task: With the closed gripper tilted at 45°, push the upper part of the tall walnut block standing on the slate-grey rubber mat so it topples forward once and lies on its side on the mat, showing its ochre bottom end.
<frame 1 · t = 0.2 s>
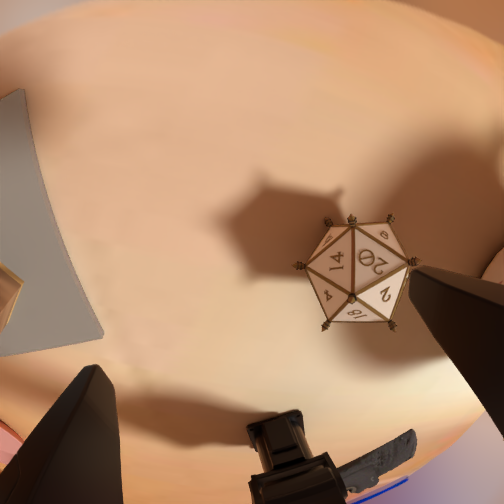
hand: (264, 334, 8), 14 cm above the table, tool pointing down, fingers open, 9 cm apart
dark slate chunk: (365, 464, 46), on the table
chamber pot: (495, 290, 34), on the table
game die: (334, 249, 24), on the table
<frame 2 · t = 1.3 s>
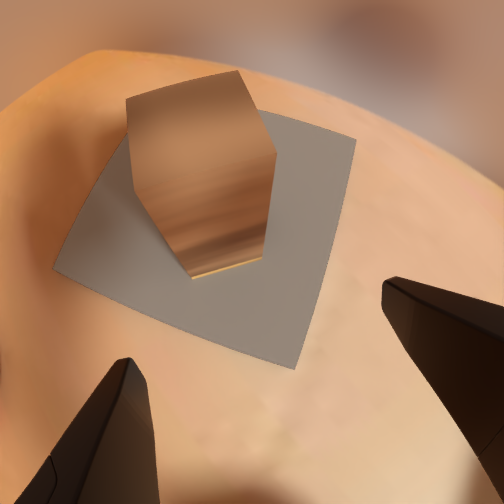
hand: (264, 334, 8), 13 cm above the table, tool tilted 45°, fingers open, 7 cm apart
walnut block: (217, 237, 22), point 1 cm above the table, touching rubber mat
rubber mat: (209, 199, 24), on the table
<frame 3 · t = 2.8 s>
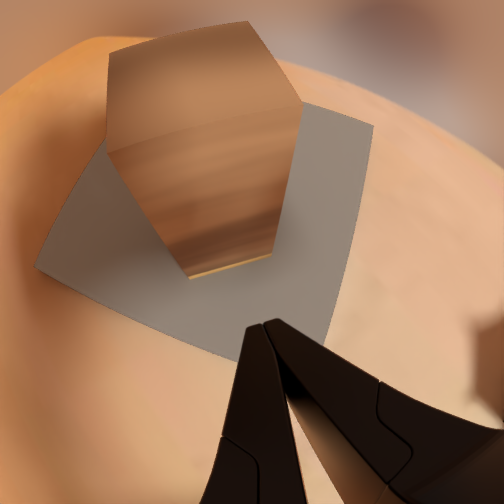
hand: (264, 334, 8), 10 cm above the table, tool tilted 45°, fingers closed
walnut block: (219, 230, 19), point 1 cm above the table, touching rubber mat
rubber mat: (210, 188, 21), on the table
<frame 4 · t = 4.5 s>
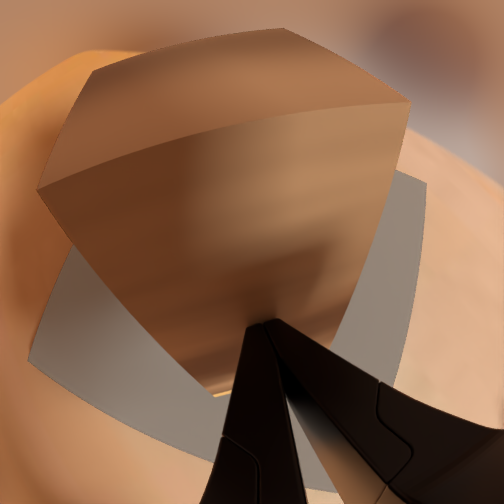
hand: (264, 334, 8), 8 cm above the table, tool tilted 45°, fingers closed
walnut block: (253, 333, 14), point 2 cm above the table, tilted 18°, touching rubber mat
rubber mat: (237, 274, 17), on the table
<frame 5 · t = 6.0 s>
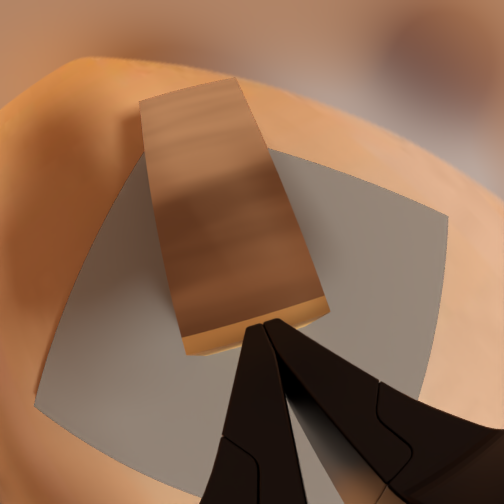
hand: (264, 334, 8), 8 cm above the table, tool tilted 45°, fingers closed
walnut block: (257, 339, 12), point 3 cm above the table, tilted 90°, touching rubber mat
rubber mat: (252, 322, 16), on the table
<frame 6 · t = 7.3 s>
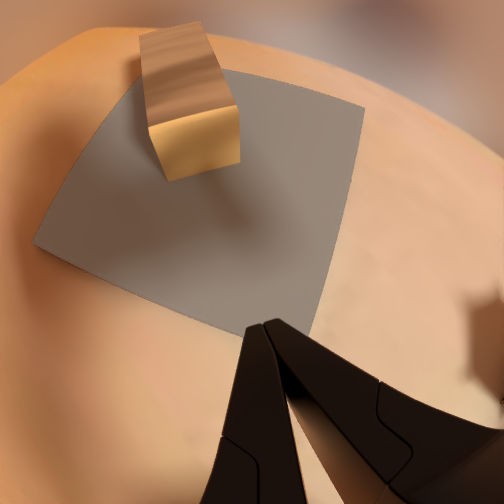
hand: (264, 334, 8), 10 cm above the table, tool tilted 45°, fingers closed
walnut block: (199, 149, 18), point 3 cm above the table, tilted 90°, touching rubber mat
rubber mat: (204, 165, 21), on the table
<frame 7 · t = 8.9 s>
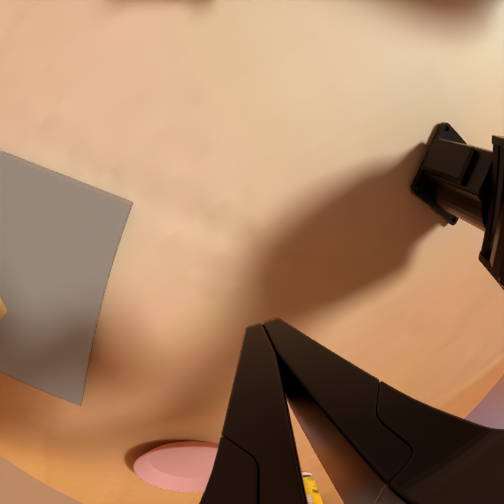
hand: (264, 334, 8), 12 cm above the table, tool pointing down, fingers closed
supplement bottle: (294, 477, 38), on the table
plate: (191, 459, 31), on the table
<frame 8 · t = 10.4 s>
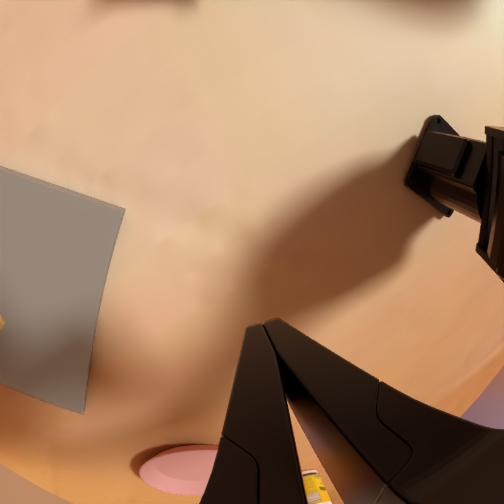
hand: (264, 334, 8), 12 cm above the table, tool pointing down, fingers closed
supplement bottle: (300, 475, 38), on the table
plate: (196, 462, 31), on the table
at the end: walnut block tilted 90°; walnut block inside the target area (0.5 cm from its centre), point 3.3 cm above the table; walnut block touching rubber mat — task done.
